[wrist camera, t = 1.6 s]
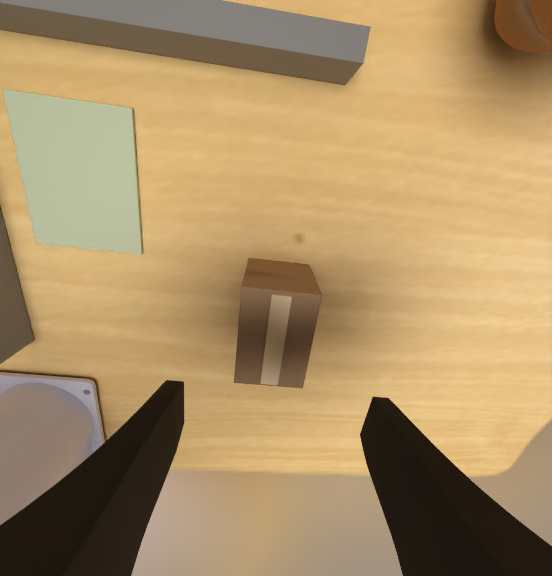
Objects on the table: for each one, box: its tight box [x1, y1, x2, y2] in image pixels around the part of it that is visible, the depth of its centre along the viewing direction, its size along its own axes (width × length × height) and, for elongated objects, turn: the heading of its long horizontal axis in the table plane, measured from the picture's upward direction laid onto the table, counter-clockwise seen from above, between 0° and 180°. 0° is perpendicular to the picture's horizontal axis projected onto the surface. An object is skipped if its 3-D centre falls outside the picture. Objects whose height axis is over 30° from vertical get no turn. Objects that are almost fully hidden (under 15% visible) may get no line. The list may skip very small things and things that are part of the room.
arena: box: [0, 0, 370, 364], centre depth 15 cm, size 19×20×3 cm
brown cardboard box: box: [234, 258, 322, 388], centre depth 17 cm, size 6×4×5 cm, turn 173°
